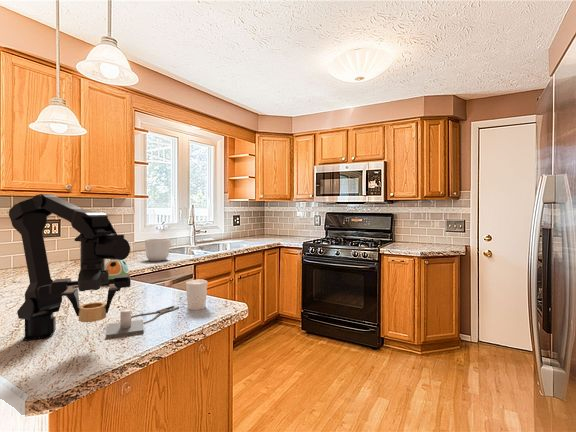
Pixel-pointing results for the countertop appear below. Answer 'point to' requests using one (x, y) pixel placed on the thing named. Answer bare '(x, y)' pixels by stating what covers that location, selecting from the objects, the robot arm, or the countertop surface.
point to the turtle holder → (116, 267)
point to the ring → (92, 312)
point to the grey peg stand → (125, 326)
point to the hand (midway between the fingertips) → (92, 314)
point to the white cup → (196, 294)
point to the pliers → (157, 312)
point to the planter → (157, 249)
